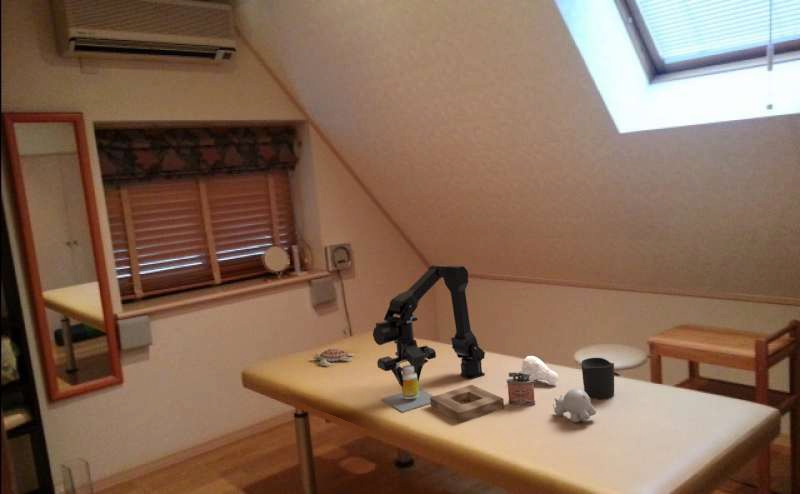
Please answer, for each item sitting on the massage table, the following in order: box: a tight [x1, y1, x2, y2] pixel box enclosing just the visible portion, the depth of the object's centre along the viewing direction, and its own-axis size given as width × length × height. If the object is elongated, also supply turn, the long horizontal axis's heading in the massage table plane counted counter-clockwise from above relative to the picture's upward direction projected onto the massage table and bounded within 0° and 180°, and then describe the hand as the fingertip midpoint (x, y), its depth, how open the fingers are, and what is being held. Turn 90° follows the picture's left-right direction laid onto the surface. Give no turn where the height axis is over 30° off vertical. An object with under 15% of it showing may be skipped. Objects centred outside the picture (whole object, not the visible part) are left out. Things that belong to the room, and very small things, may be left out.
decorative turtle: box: [312, 348, 355, 367], centre depth 244 cm, size 18×17×5 cm
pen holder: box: [581, 357, 615, 400], centre depth 182 cm, size 9×9×10 cm
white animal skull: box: [521, 355, 559, 386], centre depth 196 cm, size 6×8×12 cm
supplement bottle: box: [401, 364, 419, 399], centre depth 192 cm, size 5×5×10 cm
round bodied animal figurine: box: [552, 388, 597, 423], centre depth 168 cm, size 7×12×8 cm, turn 41°
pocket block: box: [430, 384, 505, 424], centre depth 182 cm, size 16×16×3 cm
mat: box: [381, 387, 434, 414], centre depth 193 cm, size 14×14×1 cm
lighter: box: [506, 370, 536, 407], centre depth 181 cm, size 8×3×10 cm, turn 71°
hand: (409, 384), depth 192 cm, fingers closed on supplement bottle, 5 cm apart
